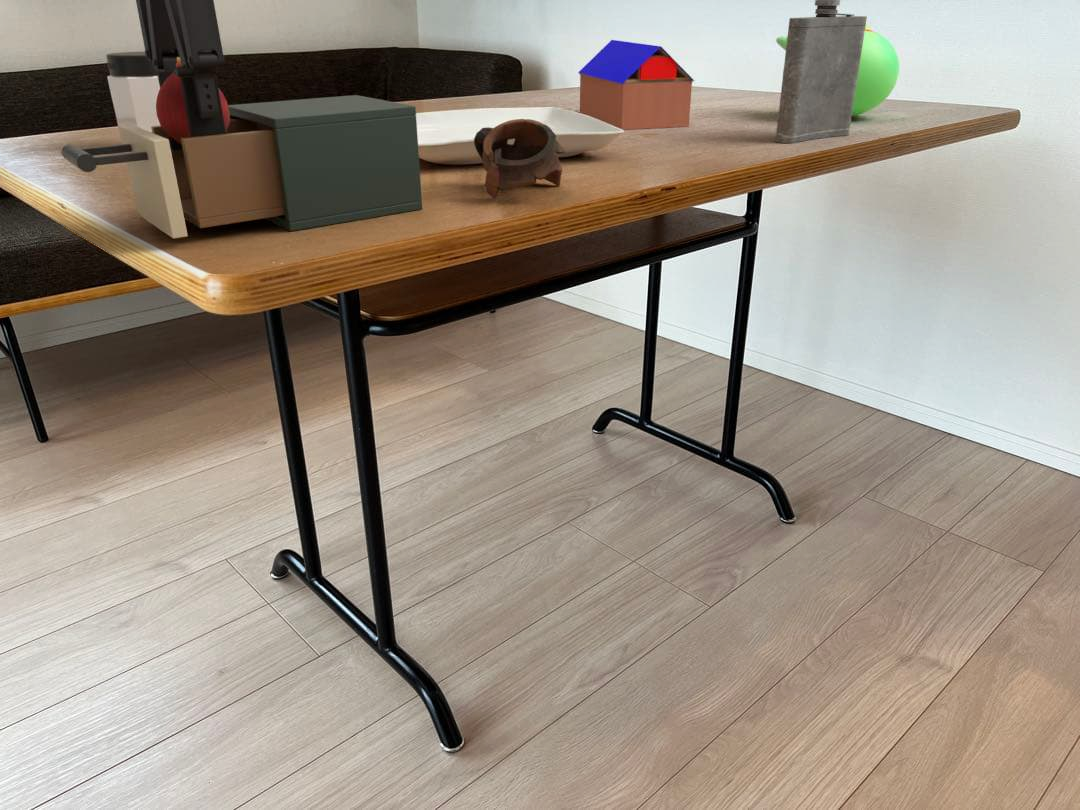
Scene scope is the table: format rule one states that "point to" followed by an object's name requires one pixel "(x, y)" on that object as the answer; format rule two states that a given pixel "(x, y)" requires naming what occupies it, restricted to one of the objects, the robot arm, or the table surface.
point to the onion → (179, 108)
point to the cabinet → (341, 158)
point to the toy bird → (871, 71)
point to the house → (635, 87)
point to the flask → (820, 74)
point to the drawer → (195, 175)
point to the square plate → (455, 130)
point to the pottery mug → (518, 155)
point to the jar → (133, 89)
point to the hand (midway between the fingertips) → (200, 152)
